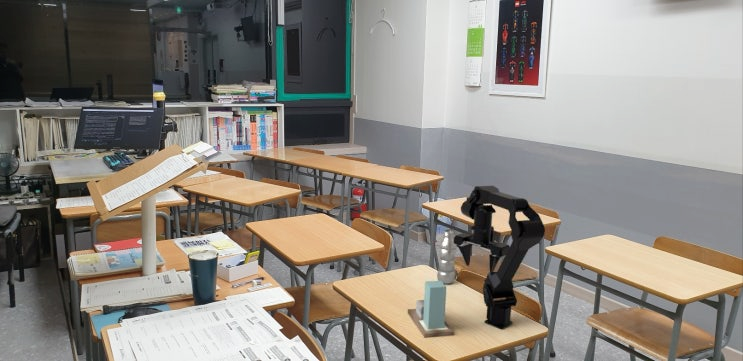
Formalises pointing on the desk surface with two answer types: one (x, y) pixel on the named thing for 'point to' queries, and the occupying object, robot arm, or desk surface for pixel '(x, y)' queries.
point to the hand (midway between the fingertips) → (479, 269)
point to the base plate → (418, 320)
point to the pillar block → (434, 304)
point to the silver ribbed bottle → (447, 258)
